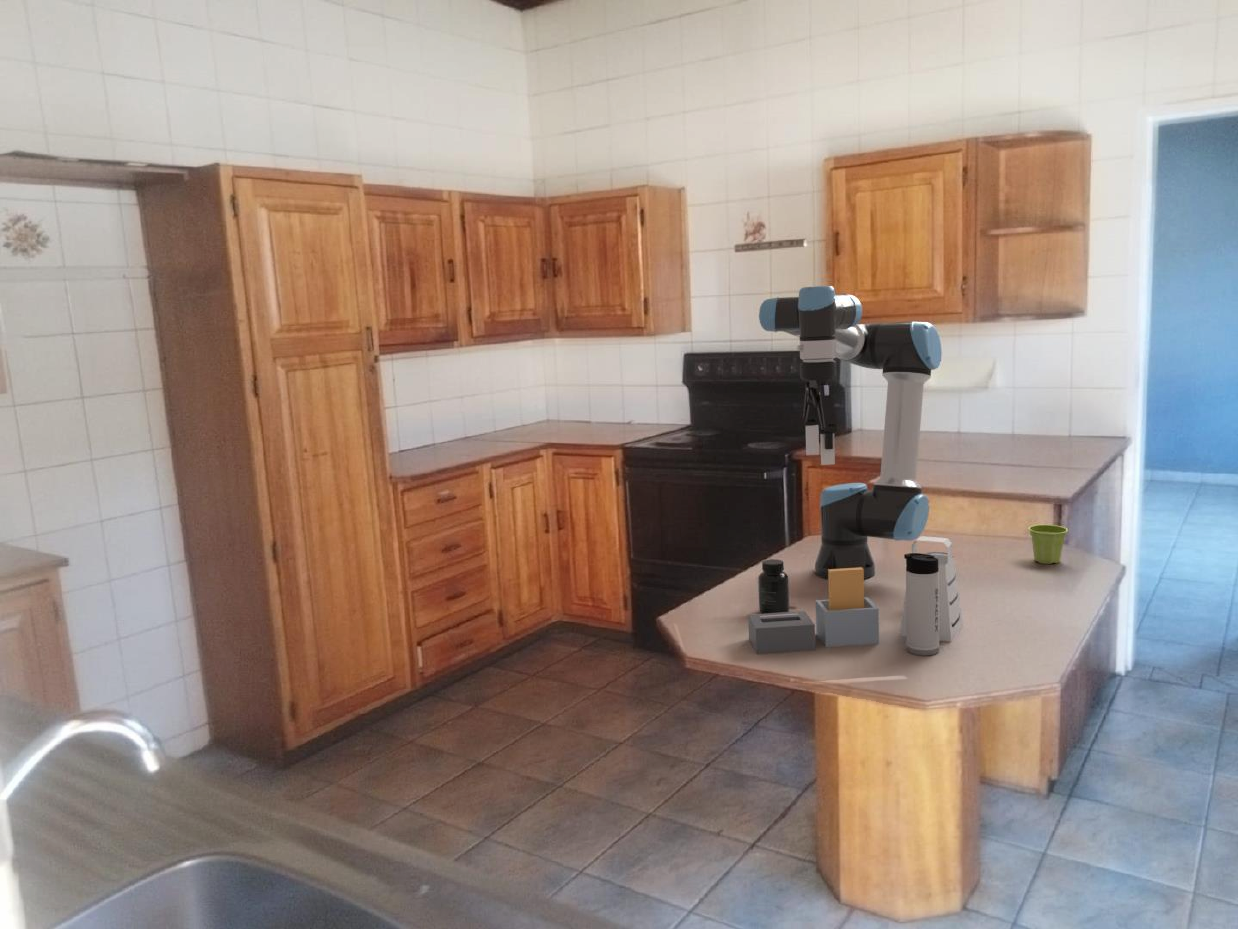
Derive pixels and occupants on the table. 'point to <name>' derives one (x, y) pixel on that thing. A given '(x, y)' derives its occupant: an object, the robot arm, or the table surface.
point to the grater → (943, 594)
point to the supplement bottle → (773, 588)
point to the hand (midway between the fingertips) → (820, 459)
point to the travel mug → (922, 604)
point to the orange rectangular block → (846, 588)
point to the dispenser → (781, 632)
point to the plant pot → (1047, 542)
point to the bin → (847, 624)
